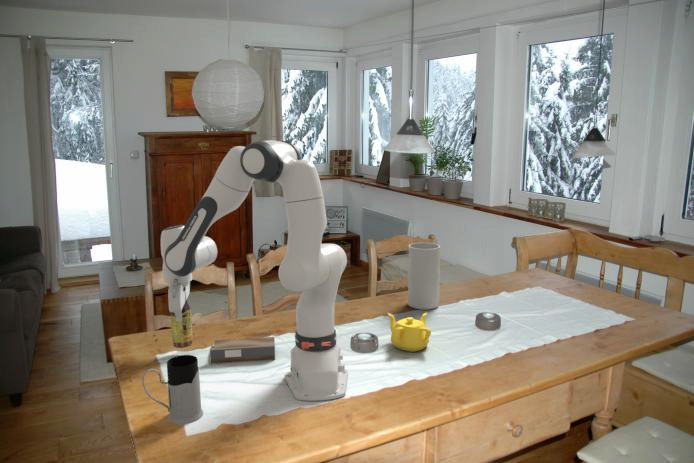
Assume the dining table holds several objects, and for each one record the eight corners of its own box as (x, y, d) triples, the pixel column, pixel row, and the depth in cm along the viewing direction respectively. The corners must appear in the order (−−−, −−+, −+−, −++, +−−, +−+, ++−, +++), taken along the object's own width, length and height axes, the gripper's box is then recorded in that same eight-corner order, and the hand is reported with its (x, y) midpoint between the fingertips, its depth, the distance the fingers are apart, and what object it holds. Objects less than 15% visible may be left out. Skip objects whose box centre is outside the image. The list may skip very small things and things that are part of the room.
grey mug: (204, 421, 143) (200, 365, 140) (144, 430, 139) (139, 373, 136) (202, 404, 151) (199, 352, 148) (146, 413, 147) (142, 358, 144)
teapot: (426, 338, 196) (427, 311, 194) (432, 353, 183) (433, 324, 181) (387, 338, 196) (387, 311, 194) (390, 354, 183) (390, 325, 181)
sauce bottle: (187, 349, 180) (182, 288, 177) (169, 348, 181) (164, 288, 178) (196, 342, 186) (192, 283, 183) (179, 341, 188) (174, 283, 185)
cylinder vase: (440, 310, 225) (442, 249, 220) (409, 310, 225) (410, 249, 221) (436, 300, 237) (437, 242, 233) (406, 300, 238) (407, 242, 233)
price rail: (275, 355, 179) (274, 346, 178) (210, 359, 176) (209, 350, 176) (274, 353, 180) (274, 344, 180) (210, 357, 178) (210, 348, 177)
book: (275, 359, 179) (274, 355, 179) (210, 363, 177) (210, 359, 176) (274, 340, 195) (274, 336, 195) (215, 344, 192) (215, 340, 192)
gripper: (183, 283, 170) (186, 327, 173) (191, 267, 190) (195, 306, 193) (161, 284, 170) (165, 328, 172) (172, 268, 189) (176, 308, 192)
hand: (181, 317), depth 183 cm, fingers closed on sauce bottle, 6 cm apart
